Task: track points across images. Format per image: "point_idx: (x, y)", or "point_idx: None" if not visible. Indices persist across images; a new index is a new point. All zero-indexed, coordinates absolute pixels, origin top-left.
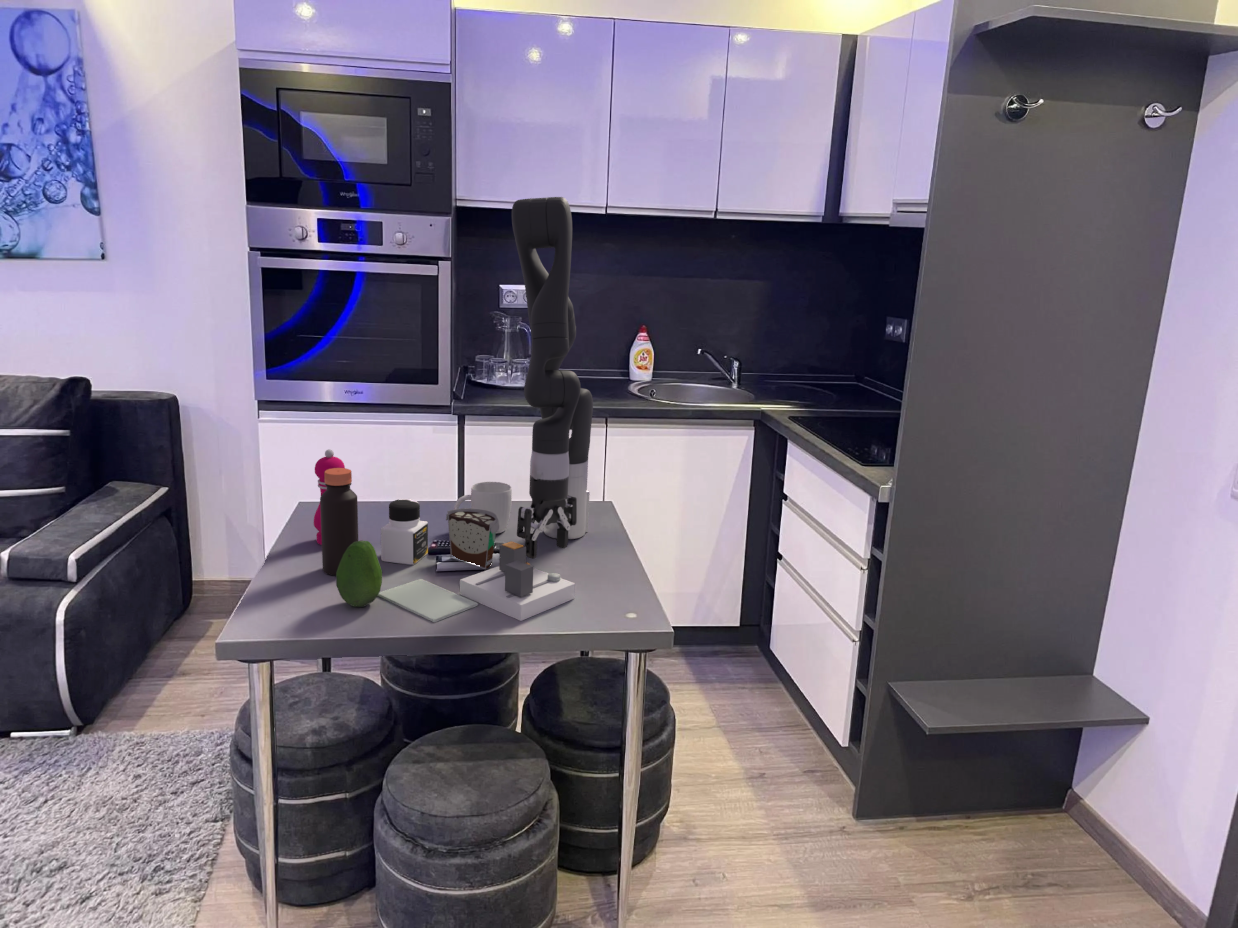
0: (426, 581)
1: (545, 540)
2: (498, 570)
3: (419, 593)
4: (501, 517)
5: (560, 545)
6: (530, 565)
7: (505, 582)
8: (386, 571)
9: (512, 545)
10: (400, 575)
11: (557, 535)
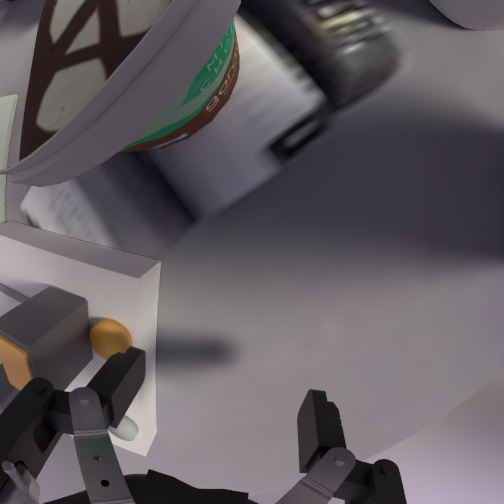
0: (8, 116)
1: (493, 178)
2: (53, 279)
3: None
4: (477, 4)
5: (304, 407)
6: None
7: (2, 364)
8: (39, 9)
9: (12, 370)
10: (29, 41)
11: (313, 423)
